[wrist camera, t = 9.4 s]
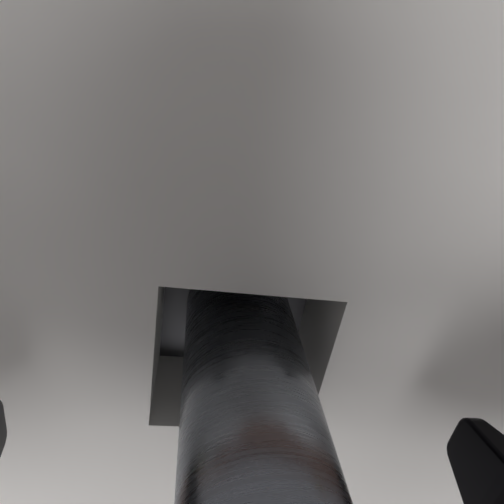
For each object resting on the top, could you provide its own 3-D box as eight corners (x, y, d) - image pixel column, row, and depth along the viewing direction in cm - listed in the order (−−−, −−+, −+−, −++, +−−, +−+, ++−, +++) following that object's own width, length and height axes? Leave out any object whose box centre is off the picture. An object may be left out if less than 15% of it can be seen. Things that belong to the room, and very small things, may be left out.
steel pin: (295, 265, 11) (513, 810, 3) (276, 346, 13) (401, 882, 5) (192, 255, 11) (160, 858, 3) (182, 340, 12) (142, 924, 4)
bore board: (649, 48, 10) (808, 53, 7) (423, 475, 17) (463, 555, 14) (-214, -133, 7) (-459, -230, 5) (-57, 467, 14) (-116, 566, 12)
